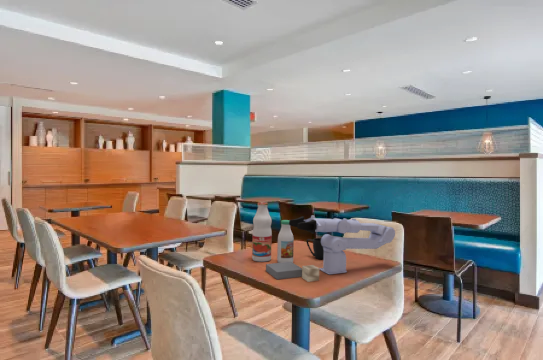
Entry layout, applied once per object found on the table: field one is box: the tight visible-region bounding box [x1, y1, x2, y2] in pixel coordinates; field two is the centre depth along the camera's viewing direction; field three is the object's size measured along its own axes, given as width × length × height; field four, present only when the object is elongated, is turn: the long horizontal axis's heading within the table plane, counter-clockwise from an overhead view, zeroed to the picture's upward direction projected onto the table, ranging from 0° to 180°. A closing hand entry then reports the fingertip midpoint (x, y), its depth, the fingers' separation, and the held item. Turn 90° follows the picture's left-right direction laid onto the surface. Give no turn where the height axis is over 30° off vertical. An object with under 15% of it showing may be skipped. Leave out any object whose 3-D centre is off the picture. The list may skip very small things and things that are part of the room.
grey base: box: [265, 262, 302, 280], centre depth 139 cm, size 12×12×3 cm
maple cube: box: [301, 264, 320, 283], centre depth 132 cm, size 5×5×5 cm
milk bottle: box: [276, 219, 295, 263], centre depth 156 cm, size 8×8×20 cm
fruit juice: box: [251, 201, 273, 263], centre depth 160 cm, size 9×9×28 cm
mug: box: [306, 237, 324, 261], centre depth 166 cm, size 8×12×10 cm
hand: (293, 224), depth 135 cm, fingers open, 7 cm apart
